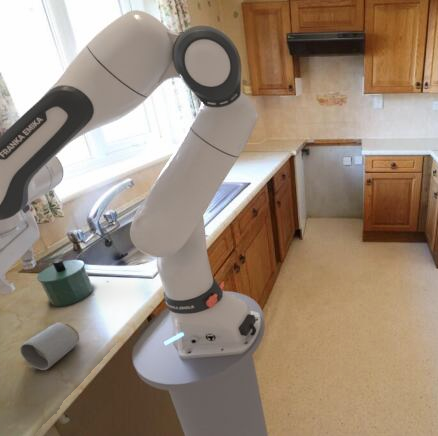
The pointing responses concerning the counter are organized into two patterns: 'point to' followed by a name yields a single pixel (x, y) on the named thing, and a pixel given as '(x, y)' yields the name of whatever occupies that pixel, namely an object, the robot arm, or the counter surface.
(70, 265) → the pot lid
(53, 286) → the pot
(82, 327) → the counter surface
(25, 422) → the counter surface
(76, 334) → the ceramic mug
